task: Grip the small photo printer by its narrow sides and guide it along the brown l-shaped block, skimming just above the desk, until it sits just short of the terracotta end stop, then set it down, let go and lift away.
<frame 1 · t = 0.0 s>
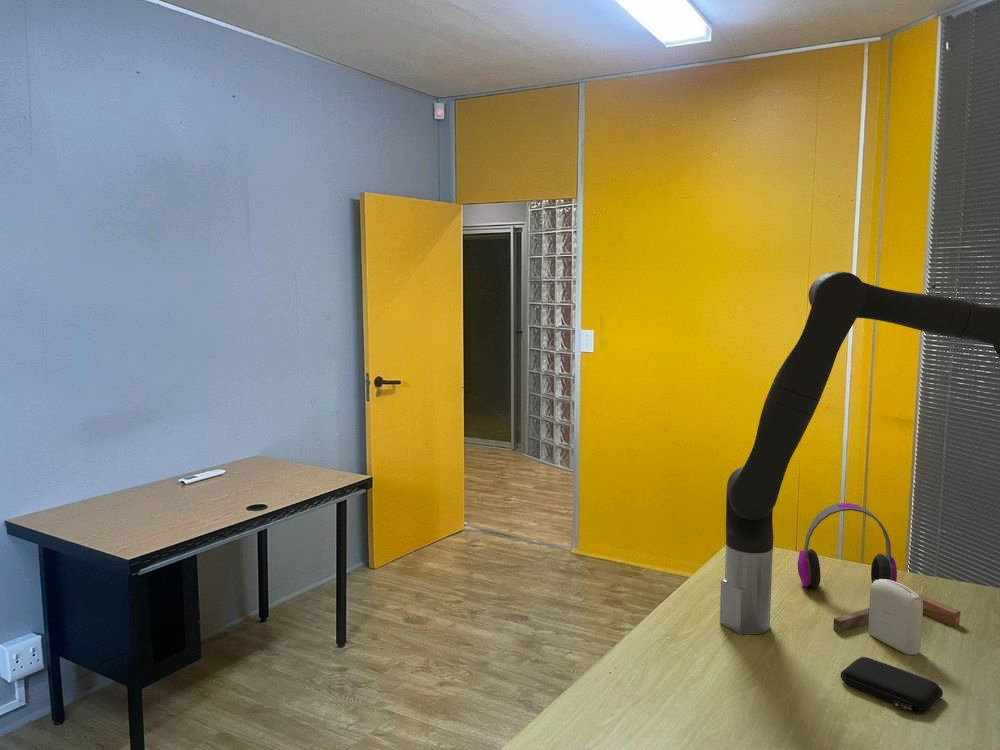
carrying case or bag: (888, 694, 130), on the table
brown l-shaped block: (876, 619, 157), on the table
photo printer: (893, 644, 147), on the table
headphones: (845, 589, 172), on the table
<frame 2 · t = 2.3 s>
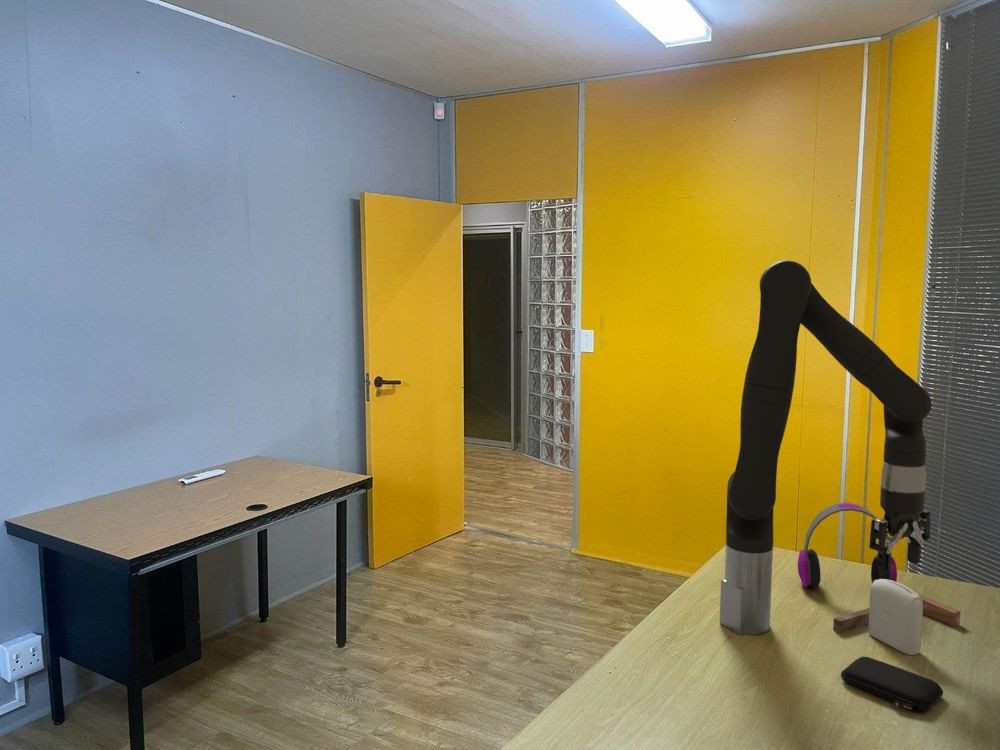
hand: (898, 566, 145), 16 cm above the table, tool pointing down, fingers open, 8 cm apart
nothing on the table moved.
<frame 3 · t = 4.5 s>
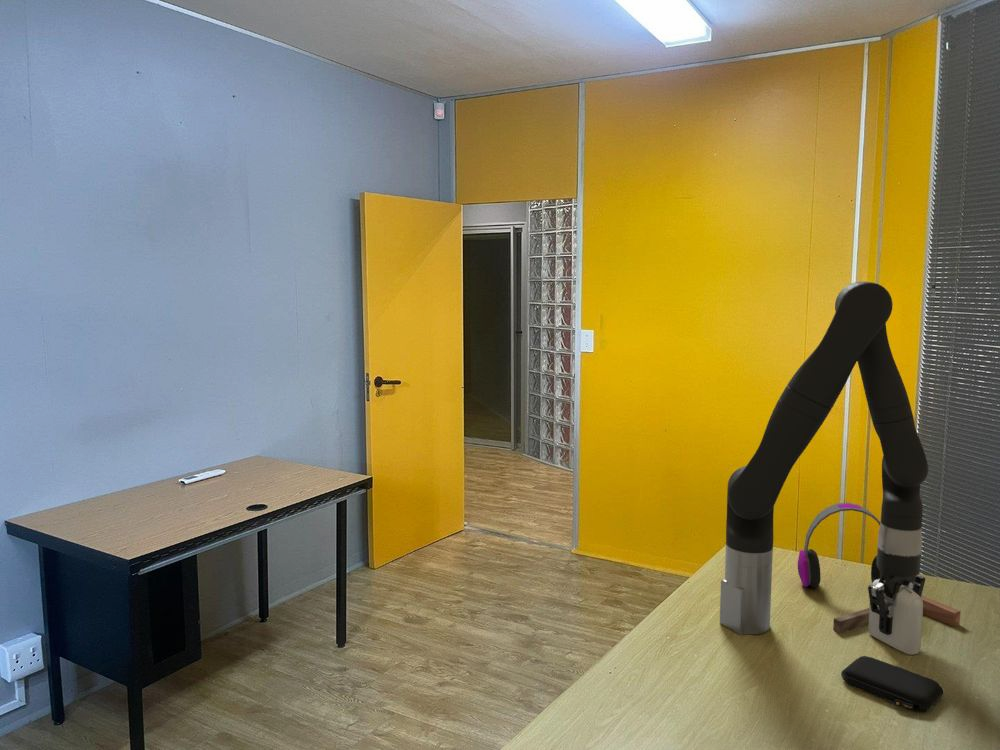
hand: (894, 629, 147), 3 cm above the table, tool pointing down, fingers closed on photo printer, 4 cm apart
photo printer: (893, 644, 147), on the table, touching gripper
everything else where it was.
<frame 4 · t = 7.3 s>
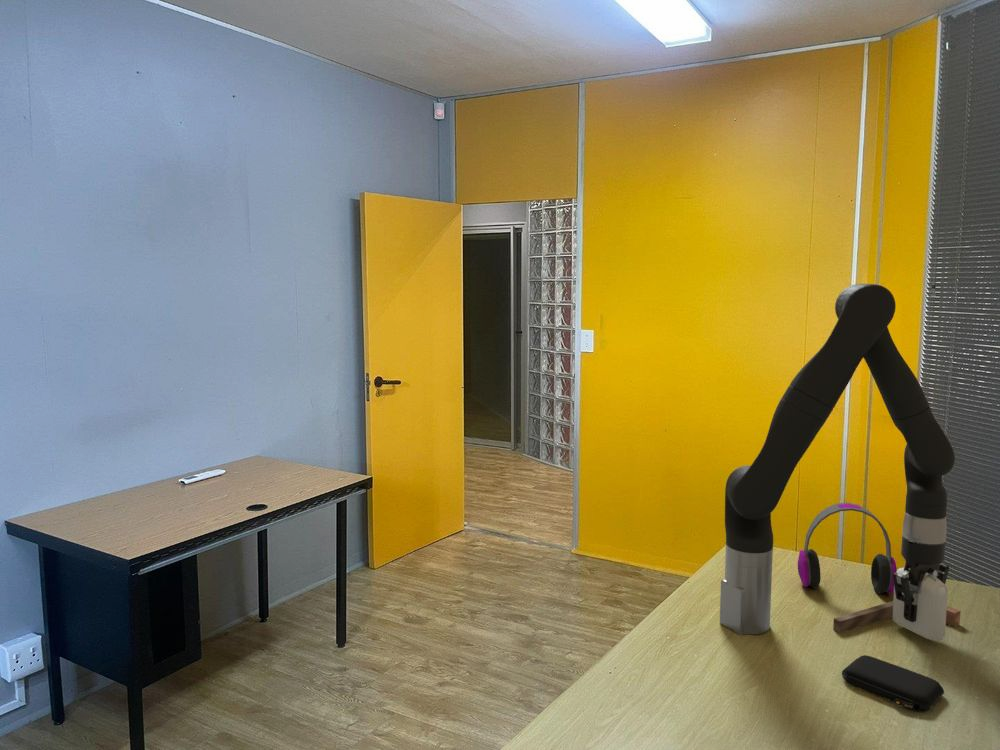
hand: (918, 617, 149), 4 cm above the table, tool pointing down, fingers closed on photo printer, 4 cm apart
photo printer: (917, 631, 150), point 1 cm above the table, touching gripper
everything else where it was.
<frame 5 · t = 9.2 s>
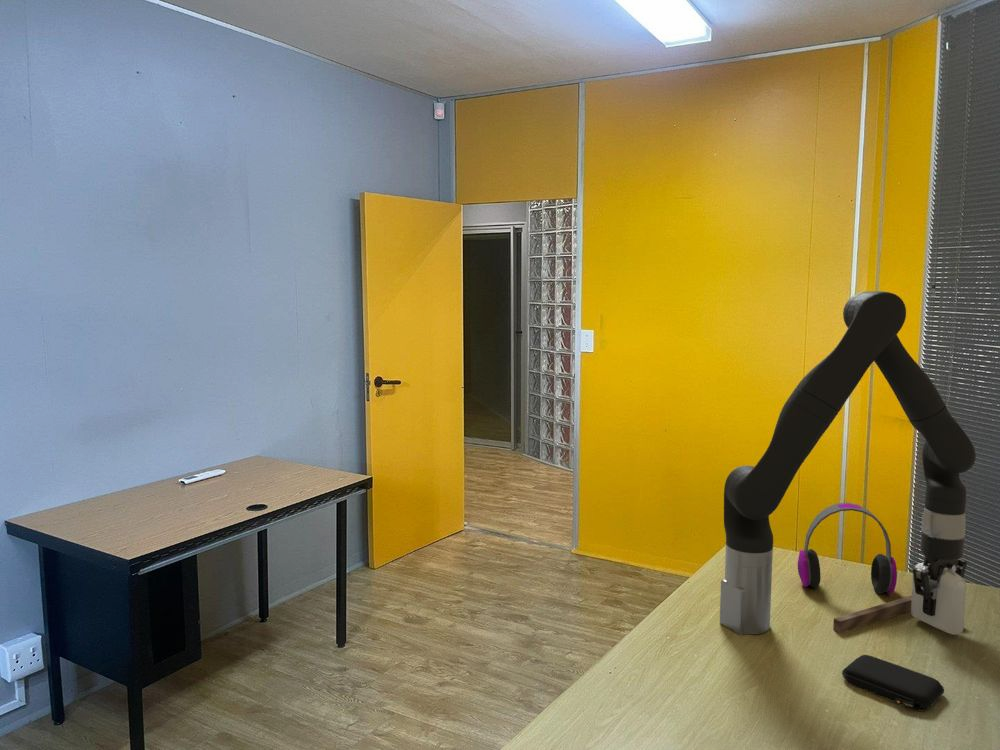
hand: (936, 611, 152), 4 cm above the table, tool pointing down, fingers closed on photo printer, 4 cm apart
photo printer: (936, 625, 152), point 1 cm above the table, touching gripper
everything else where it was.
when the fingers open (3 cm above the table, at t = 10.5 s): photo printer stays where it is, on the table.
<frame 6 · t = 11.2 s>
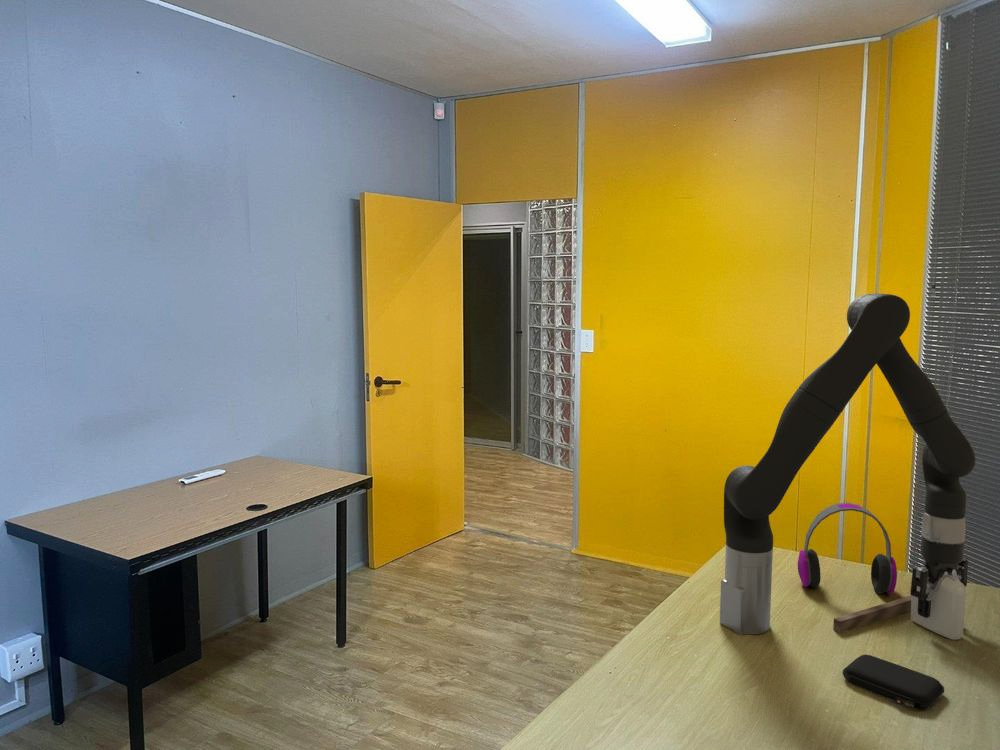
hand: (937, 611, 152), 4 cm above the table, tool pointing down, fingers open, 8 cm apart
photo printer: (935, 629, 153), on the table
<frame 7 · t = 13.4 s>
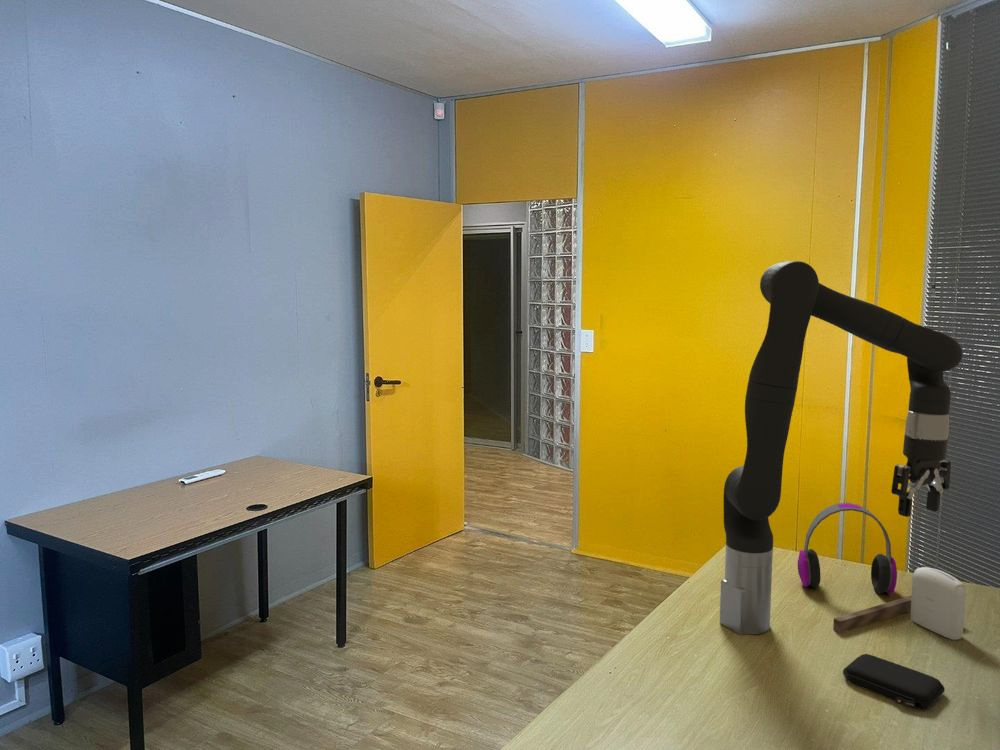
hand: (918, 513, 150), 24 cm above the table, tool pointing down, fingers open, 8 cm apart
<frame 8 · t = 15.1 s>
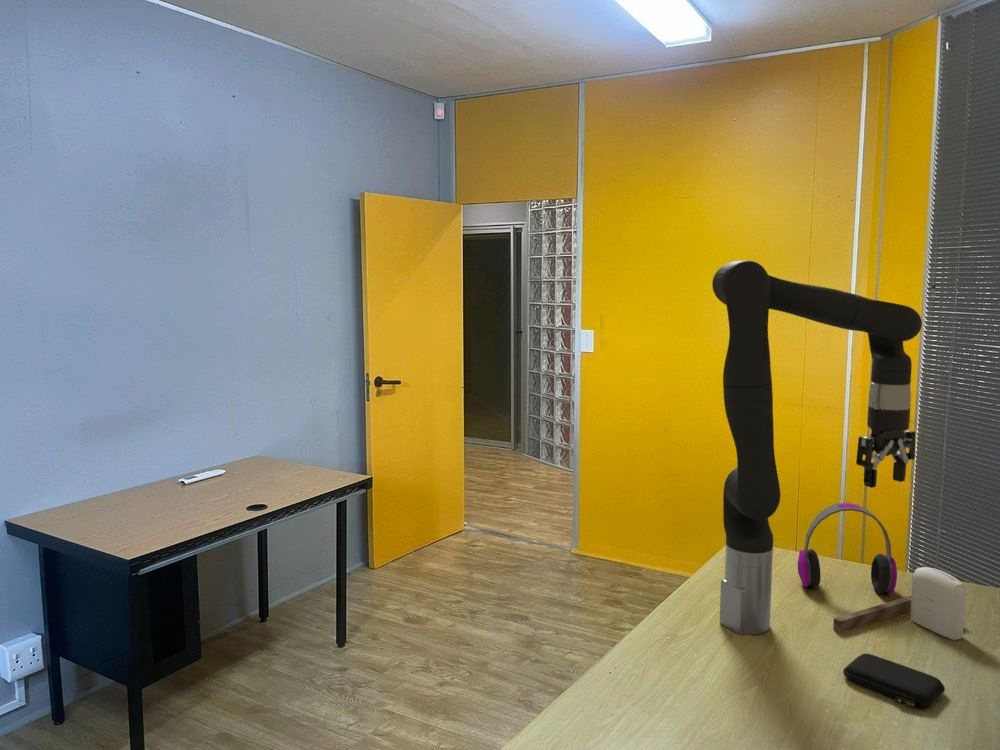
hand: (884, 483, 151), 30 cm above the table, tool pointing down, fingers open, 8 cm apart
at the end: photo printer inside the target area (0.1 cm from its centre), on the table; photo printer tilted 0°; the gripper is holding nothing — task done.
